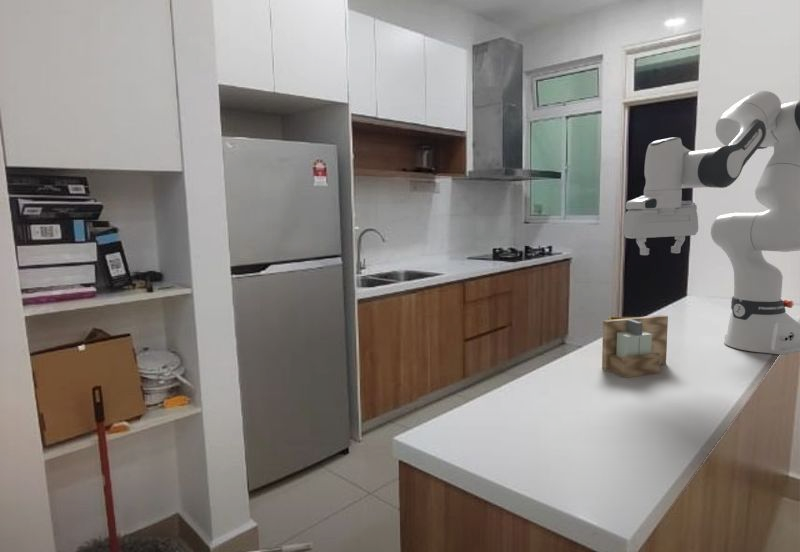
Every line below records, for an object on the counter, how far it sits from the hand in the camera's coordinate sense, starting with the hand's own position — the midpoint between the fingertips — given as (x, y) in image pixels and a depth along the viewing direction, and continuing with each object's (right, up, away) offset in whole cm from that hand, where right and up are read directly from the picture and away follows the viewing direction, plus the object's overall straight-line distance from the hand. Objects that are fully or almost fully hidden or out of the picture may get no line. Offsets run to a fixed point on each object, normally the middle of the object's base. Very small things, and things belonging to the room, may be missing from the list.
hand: (660, 254), depth 131 cm
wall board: (-7, -30, -3) cm, 31 cm away
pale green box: (-9, -26, -5) cm, 28 cm away
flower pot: (-3, -28, +13) cm, 31 cm away
